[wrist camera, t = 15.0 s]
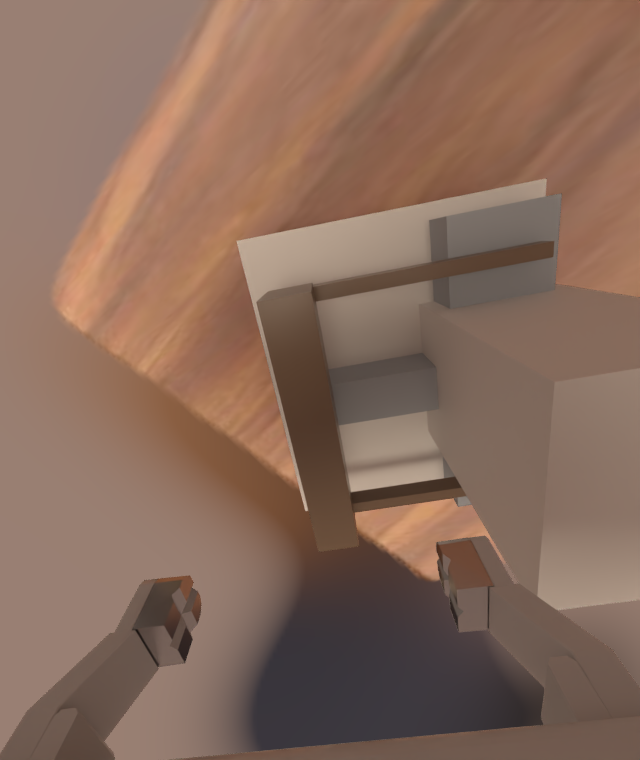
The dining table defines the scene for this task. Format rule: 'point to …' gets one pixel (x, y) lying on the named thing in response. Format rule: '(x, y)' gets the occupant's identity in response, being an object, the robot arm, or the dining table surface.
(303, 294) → the glasses frame
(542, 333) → the pillar on square base
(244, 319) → the dining table surface
